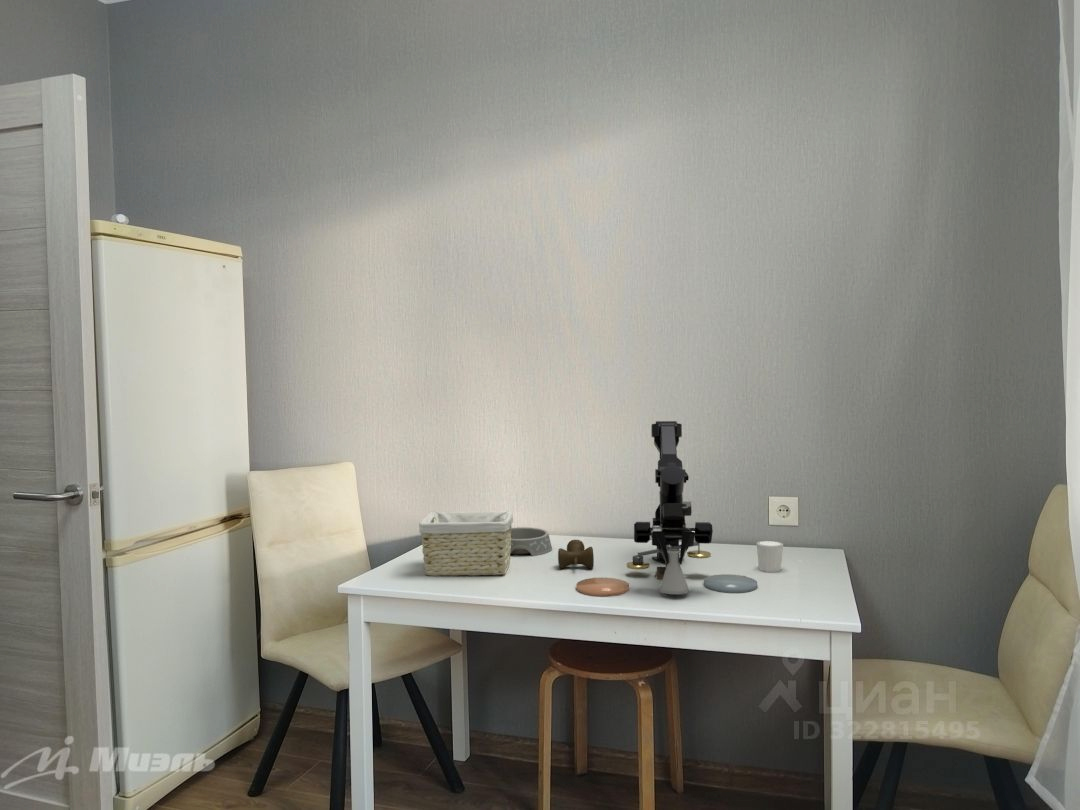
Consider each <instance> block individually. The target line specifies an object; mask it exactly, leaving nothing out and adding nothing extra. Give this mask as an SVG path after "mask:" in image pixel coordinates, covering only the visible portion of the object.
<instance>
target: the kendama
mask: <svg viewBox="0 0 1080 810" xmlns="http://www.w3.org/2000/svg"><path fill="white" fill-rule="evenodd" d="M594 558H595V557H594V548H593V546H589V547H587V548H585V543H583V541H581V540H580V539H571V540H570V541H568V543H567V544H566V549H564V548H559V549H558V551H557V561H558V568H559V569H560V570H562V569H565V568H567V567H569V566H571V565H572V566H573V565H581V566H585V567H587V568H589V569H591V570H592V569H594V563H595V562H594V561H595V560H594Z"/></svg>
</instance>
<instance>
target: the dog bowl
mask: <svg viewBox="0 0 1080 810" xmlns="http://www.w3.org/2000/svg"><path fill="white" fill-rule="evenodd" d="M510 537H511V549H510V550H511V552H510V555H511V554H512V555H514V554H516V555H526V554H527V555H528V554H530V555H531V557H537V556H538V557H539V556H542V555H543V556H544V555H547V554H548V553H551V552H552V551H553V546H552V543H551V538H550V534H549V532H548V530H545V529H543V528H539V527H527V526H526V527H523V526H522V527H520V526H517V527H512V528H511V536H510Z"/></svg>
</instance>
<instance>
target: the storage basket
mask: <svg viewBox="0 0 1080 810" xmlns="http://www.w3.org/2000/svg"><path fill="white" fill-rule="evenodd" d="M513 523H514V514H513V512H512V511H511V510H506V511H497V510H496V511H487V510H486V511H436V510H434V511H430V512H429V513H427V515H425V516H424V517H423V518H422V519H421V520H420V521H419V523H418V526H419V527H418V528H419V530H418V531H419V534H420V535H421V543H422V555H423V562H424V573H425V575H426V576H432V577H438V576H439V577H440V576H444V577H445V576H452V577H457V576H474V577H475V576H481V575H482V576H489V575H490V576H495V575H496V576H497V575H506V574H507V571H508V570H509V566H510V563H511V554H510V552H511V550H510V549H511V537H510V536H511V528H513V526H512V524H513Z"/></svg>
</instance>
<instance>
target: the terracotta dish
mask: <svg viewBox="0 0 1080 810" xmlns="http://www.w3.org/2000/svg"><path fill="white" fill-rule="evenodd" d="M575 586H576V588H575V589H576V592H578V593H580V594H582V595H586V596H591V597H615V596H621V595H623V594H626V593H628V592H629V591H630V583H629V582H627V581H626V580H623V579H619V578H614V577H591V578H584V579H582V580H581V579H580V580H578V581H577V583H576V585H575Z"/></svg>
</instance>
